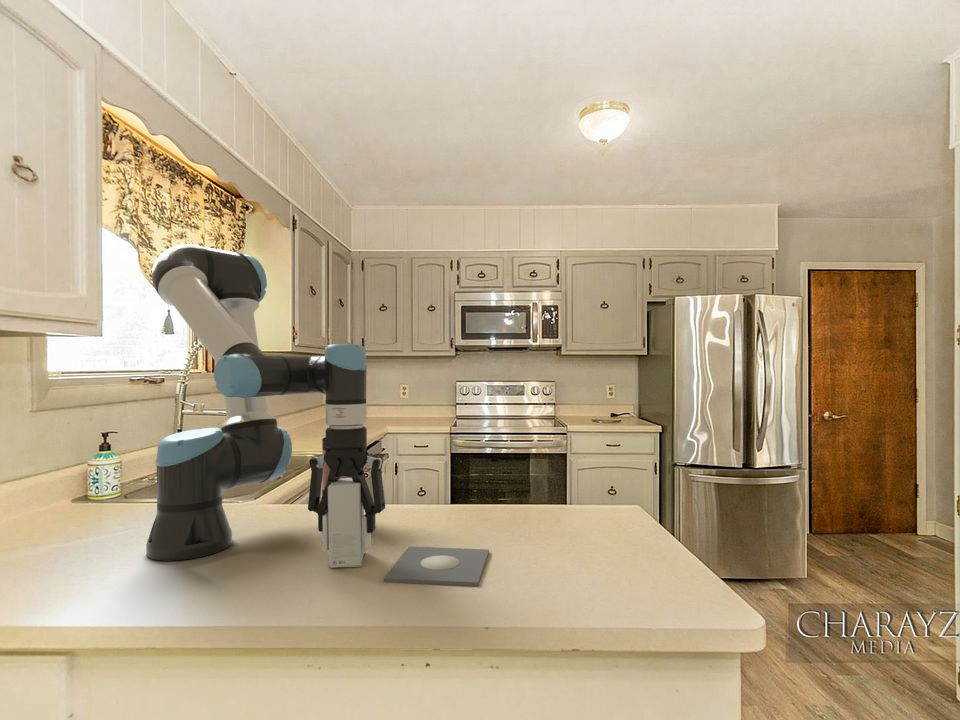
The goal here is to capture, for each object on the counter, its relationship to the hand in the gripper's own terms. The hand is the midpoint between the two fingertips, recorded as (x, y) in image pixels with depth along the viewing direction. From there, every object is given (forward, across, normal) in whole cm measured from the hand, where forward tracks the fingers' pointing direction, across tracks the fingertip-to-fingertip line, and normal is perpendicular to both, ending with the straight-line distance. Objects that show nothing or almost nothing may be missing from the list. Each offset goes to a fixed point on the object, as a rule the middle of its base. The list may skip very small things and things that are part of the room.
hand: (346, 549), depth 101 cm
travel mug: (+2, -10, +21) cm, 23 cm away
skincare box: (+2, 0, 0) cm, 2 cm away
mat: (+2, +18, -1) cm, 18 cm away
